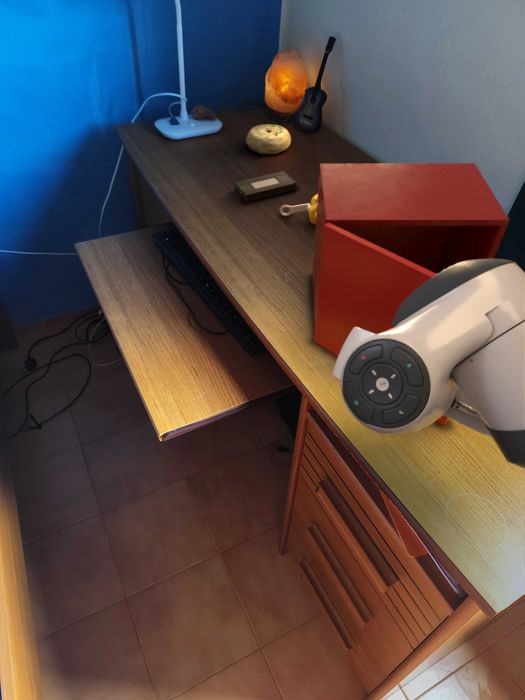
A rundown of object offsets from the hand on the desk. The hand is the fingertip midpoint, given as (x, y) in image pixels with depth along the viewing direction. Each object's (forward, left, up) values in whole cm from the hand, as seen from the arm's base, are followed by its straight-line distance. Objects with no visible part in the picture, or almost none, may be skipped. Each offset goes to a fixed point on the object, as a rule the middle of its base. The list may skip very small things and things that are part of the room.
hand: (427, 383), depth 62 cm
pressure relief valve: (+14, -60, -12) cm, 63 cm away
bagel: (+24, -102, -12) cm, 105 cm away
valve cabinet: (0, -29, -11) cm, 31 cm away
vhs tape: (+24, -75, -12) cm, 80 cm away
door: (+6, -8, -11) cm, 15 cm away
